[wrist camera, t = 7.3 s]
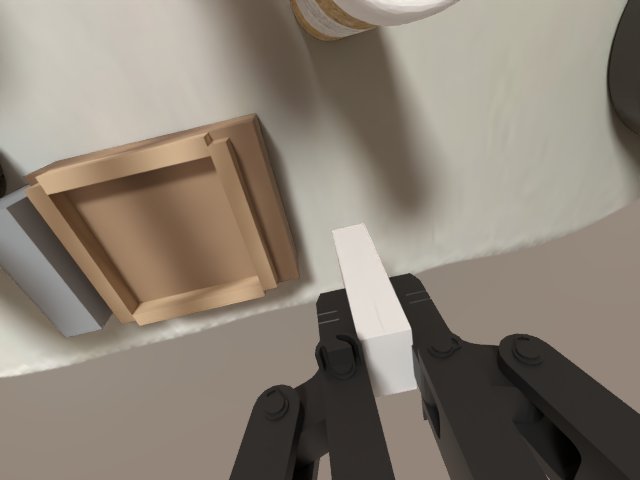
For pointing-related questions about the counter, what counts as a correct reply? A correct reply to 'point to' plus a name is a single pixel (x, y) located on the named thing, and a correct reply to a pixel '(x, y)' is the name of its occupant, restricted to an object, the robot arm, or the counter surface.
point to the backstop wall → (47, 269)
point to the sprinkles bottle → (360, 15)
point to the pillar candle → (2, 184)
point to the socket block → (172, 220)
